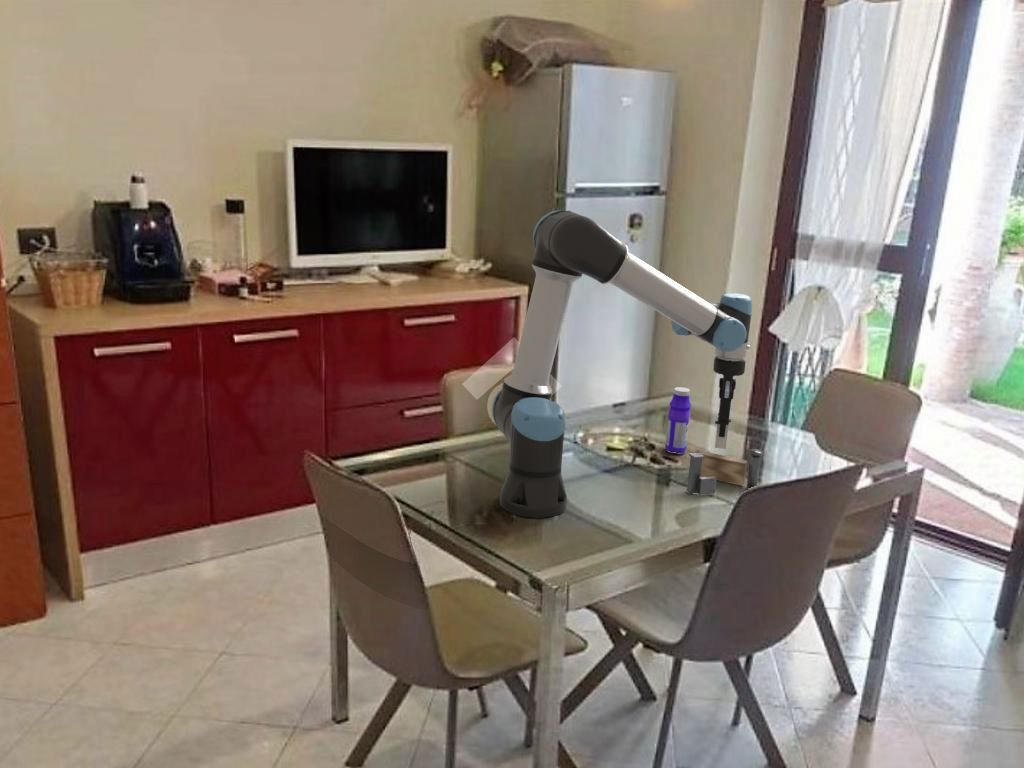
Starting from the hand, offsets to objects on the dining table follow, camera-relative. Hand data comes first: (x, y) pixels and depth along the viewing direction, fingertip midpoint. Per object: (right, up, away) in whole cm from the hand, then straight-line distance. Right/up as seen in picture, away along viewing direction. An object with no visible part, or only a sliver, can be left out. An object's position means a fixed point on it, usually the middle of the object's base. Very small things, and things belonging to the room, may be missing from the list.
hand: (720, 447), depth 225 cm
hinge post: (+6, -9, -8) cm, 14 cm away
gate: (-2, -7, -5) cm, 9 cm away
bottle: (-9, -2, +15) cm, 17 cm away
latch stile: (-8, -10, -13) cm, 18 cm away
